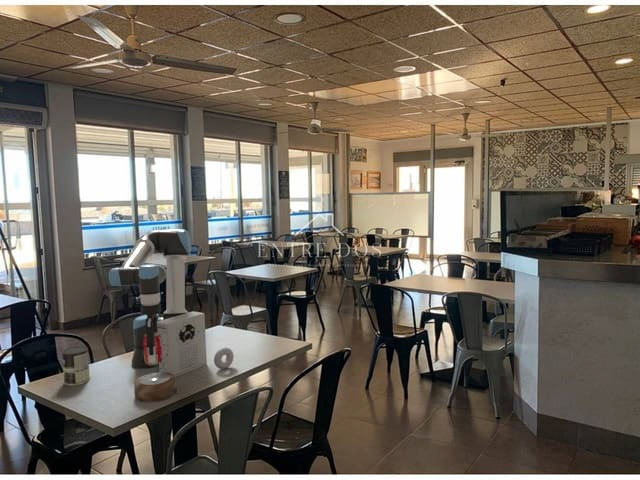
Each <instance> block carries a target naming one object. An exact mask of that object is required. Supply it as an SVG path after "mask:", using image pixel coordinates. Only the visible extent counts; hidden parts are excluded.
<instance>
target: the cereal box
mask: <svg viewBox="0 0 640 480" xmlns="http://www.w3.org/2000/svg"><path fill="white" fill-rule="evenodd" d="M205 319H206V318H205V312H198V311H190V312H188V313H186V314H183V315H179V316H176V317H172V318H169V319H165V320H162V321H158V322H157V329H158V333H160V336H161V338H162V355H163V358H162V361H161V362H160V363H159V365H158V368H159V369H158V370H159V372H166V373H171V374H174V375H175V378H177V377H179V376H182V375H184V374H186V373H187V374H188V373H189V372H192V371H194V370H197V369H198V368H201V367H204V366H206V365H207V363H208V362H207V361H208V360H207V344H206V342H207V341H206V339H207V338H206V321H205ZM159 372H158V373H159Z"/></svg>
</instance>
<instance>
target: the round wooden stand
mask: <svg viewBox="0 0 640 480" xmlns="http://www.w3.org/2000/svg"><path fill="white" fill-rule="evenodd" d="M176 378H177V377H175V375H174V374H171V373H166V372H152V373H147V374H144V375H141V376H139V377H137V378H136V379H135V380H134V382H133V388H134V389H133V390H134V399H135V400H136V401H137V402H141V403H156V402H160V401H165V400H167V399H169V398H172V397H173V396H174V395H175V394H176V392H177V381H176Z"/></svg>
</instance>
